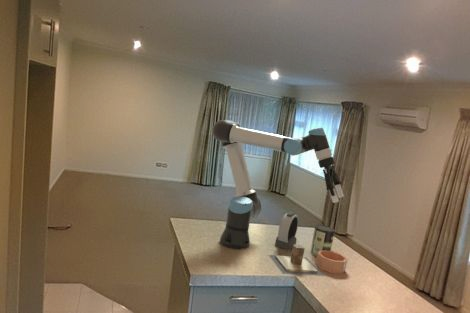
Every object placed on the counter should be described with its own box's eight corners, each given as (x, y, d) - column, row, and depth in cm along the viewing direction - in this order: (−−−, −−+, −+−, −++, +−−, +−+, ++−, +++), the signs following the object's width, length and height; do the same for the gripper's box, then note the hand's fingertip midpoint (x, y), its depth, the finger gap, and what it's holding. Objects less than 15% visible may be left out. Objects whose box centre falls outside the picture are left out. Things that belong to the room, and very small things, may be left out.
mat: (282, 274, 160) (282, 273, 160) (268, 255, 179) (268, 254, 179) (324, 276, 165) (324, 275, 165) (306, 258, 184) (306, 257, 184)
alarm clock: (289, 252, 189) (295, 217, 187) (270, 246, 194) (276, 212, 192) (299, 244, 203) (305, 212, 201) (281, 239, 208) (287, 207, 206)
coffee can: (329, 252, 198) (334, 227, 196) (330, 259, 188) (335, 233, 186) (310, 248, 200) (314, 223, 198) (310, 255, 190) (315, 228, 188)
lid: (286, 271, 163) (289, 251, 162) (275, 257, 178) (278, 239, 177) (317, 272, 167) (320, 253, 166) (303, 259, 181) (307, 241, 180)
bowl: (324, 273, 169) (326, 260, 168) (311, 261, 181) (314, 249, 181) (349, 274, 172) (351, 262, 171) (335, 262, 184) (338, 251, 184)
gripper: (326, 157, 170) (341, 202, 168) (337, 154, 192) (350, 193, 191) (311, 162, 173) (325, 206, 172) (323, 158, 196) (336, 197, 194)
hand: (338, 199), depth 181 cm, fingers open, 13 cm apart
